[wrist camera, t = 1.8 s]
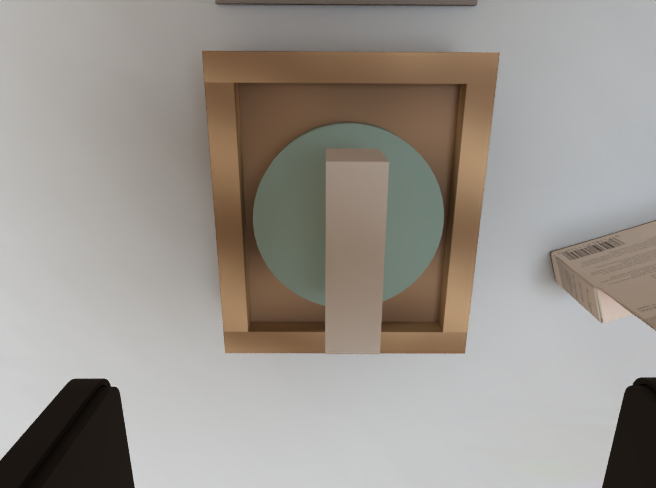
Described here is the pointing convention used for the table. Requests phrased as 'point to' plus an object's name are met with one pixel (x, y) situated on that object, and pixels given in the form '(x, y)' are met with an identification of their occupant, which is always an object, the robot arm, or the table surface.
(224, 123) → the tray
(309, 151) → the cover
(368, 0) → the mat
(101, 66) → the table surface
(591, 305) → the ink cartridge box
